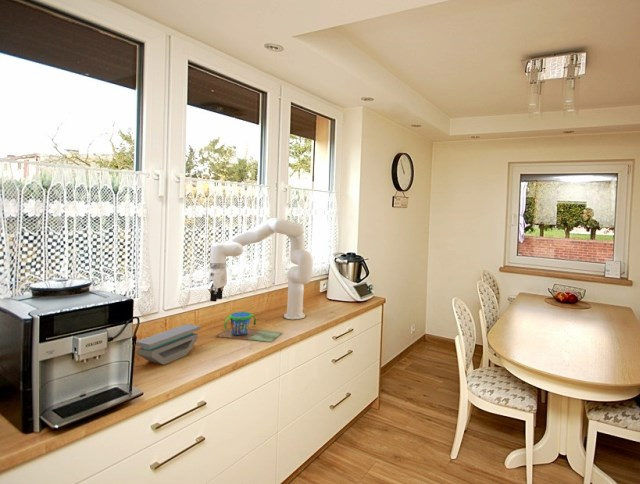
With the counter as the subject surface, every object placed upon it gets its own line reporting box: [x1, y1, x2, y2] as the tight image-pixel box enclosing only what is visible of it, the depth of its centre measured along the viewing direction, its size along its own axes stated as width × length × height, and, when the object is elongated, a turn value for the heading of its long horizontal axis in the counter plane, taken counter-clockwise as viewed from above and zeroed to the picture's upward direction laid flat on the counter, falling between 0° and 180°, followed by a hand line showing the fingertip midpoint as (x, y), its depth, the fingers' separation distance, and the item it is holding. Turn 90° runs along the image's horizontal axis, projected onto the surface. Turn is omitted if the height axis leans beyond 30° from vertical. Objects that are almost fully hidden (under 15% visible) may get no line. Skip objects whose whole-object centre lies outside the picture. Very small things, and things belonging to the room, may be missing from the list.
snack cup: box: [223, 311, 257, 335], centre depth 190 cm, size 16×10×10 cm
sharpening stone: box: [135, 323, 201, 366], centre depth 157 cm, size 25×8×11 cm, turn 164°
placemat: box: [216, 327, 282, 343], centre depth 190 cm, size 13×29×1 cm, turn 85°
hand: (216, 299), depth 191 cm, fingers open, 4 cm apart
